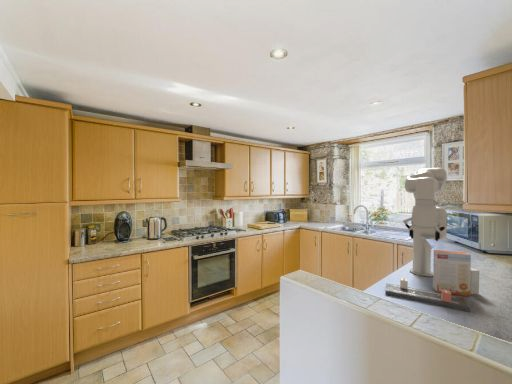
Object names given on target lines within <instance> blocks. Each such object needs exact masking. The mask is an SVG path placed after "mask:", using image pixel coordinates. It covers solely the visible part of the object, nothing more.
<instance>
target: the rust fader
mask: <svg viewBox="0 0 512 384" xmlns="http://www.w3.org/2000/svg"><path fill="white" fill-rule="evenodd" d="M451 295H452V294H451V292H450V291H449V290H443V289H441V299H442V301H445V302H450V303H451Z"/></svg>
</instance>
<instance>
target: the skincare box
mask: <svg viewBox="0 0 512 384" xmlns="http://www.w3.org/2000/svg"><path fill="white" fill-rule="evenodd" d="M473 294H474V295H479V294H480V270H478V269H476V268H472V267H471V282H470V295H473Z"/></svg>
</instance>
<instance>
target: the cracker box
mask: <svg viewBox="0 0 512 384" xmlns="http://www.w3.org/2000/svg"><path fill="white" fill-rule="evenodd" d="M471 256H472V255H471V254H469V253H468V252H464V251H453V250H441V249H433V268H432V269H433V271H432V272H433V276H432V277H433V282H432V283H433V284H432V285H433V287H432V289H433V290H434V291H435V292H437V293H441V289H443V290H449V291H450V292H451V295H454V296H462V297H463V296H465V297H471V294H470V282H471V268H472V267H471V262H472V261H471V260H472V258H471Z"/></svg>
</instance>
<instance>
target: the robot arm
mask: <svg viewBox="0 0 512 384" xmlns="http://www.w3.org/2000/svg"><path fill="white" fill-rule="evenodd" d="M447 179H448V175H447V171H446V170H445V168H442V167H427V168H420V169H418V170H417V171H416V173H415V174H411V175H408V176H407V177H406V179H405V182H404V189H405V191H406V192H407V193H410V194H413V197H414V205H412V206H413V207H412V212H411V217H409V218H406V219H404V220H402V222H403V223H404V225H405V227H406V228H407V229H408V230H409V237H410V238H411V239H412V267H411V268H410V269H409V272H410V273H412V274H413V275H417V276H420V277H433V271H432V245H431V243H430V242H429V241H428V240H433V241H436V242H438V241H444V240H446V238H447V232H448V231H447V229H448V228H447V226H448V222H447V215H448V214H447V210H446V209H445V208H444V207H443V206H436V205H439V203H440V202H439V201H438V200H437V201H436V199H435V198H436V197H435V196H436V193H440V192H444V191H445V189H446V186H447ZM410 221H411V225H409V224H408V222H410Z"/></svg>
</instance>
